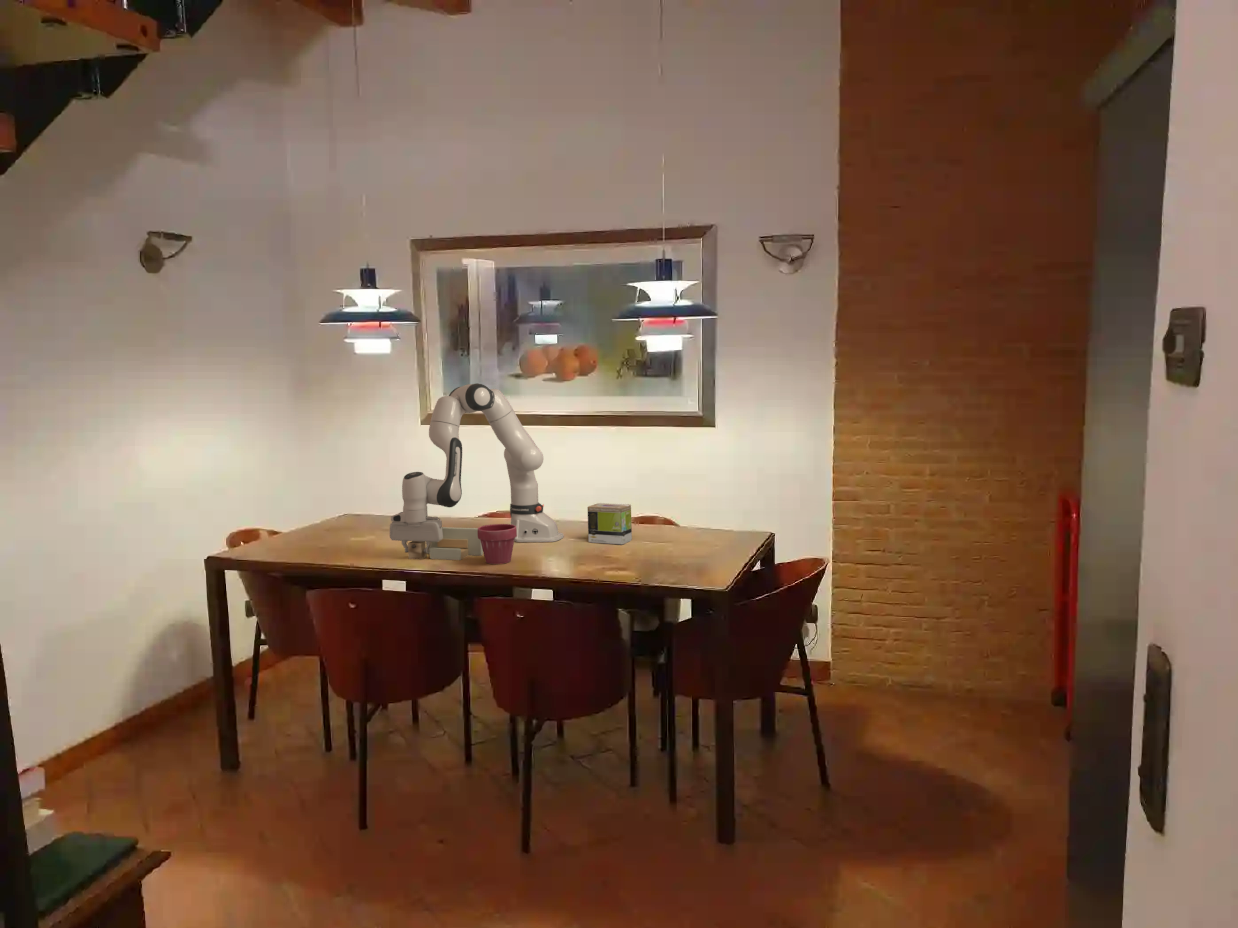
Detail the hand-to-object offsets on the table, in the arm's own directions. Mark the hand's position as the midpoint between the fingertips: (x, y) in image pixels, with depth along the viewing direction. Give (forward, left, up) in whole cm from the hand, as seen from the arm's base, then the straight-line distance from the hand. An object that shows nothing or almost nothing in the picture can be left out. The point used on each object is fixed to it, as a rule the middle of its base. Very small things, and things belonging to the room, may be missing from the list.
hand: (417, 552), depth 347 cm
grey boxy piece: (-11, -4, -2) cm, 12 cm away
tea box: (-64, -39, -2) cm, 75 cm away
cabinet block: (0, 0, -2) cm, 2 cm away
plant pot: (-32, +1, -2) cm, 32 cm away
